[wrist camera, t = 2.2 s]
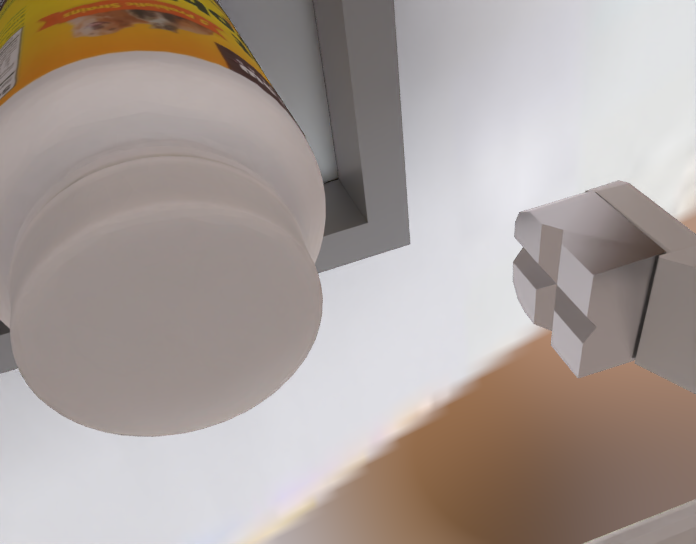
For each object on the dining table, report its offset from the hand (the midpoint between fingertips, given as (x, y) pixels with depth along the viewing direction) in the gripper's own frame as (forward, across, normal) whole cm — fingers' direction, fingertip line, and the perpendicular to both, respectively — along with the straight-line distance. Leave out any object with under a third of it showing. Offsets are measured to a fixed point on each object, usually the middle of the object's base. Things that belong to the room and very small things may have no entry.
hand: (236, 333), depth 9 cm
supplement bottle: (+10, +1, 0) cm, 11 cm away
